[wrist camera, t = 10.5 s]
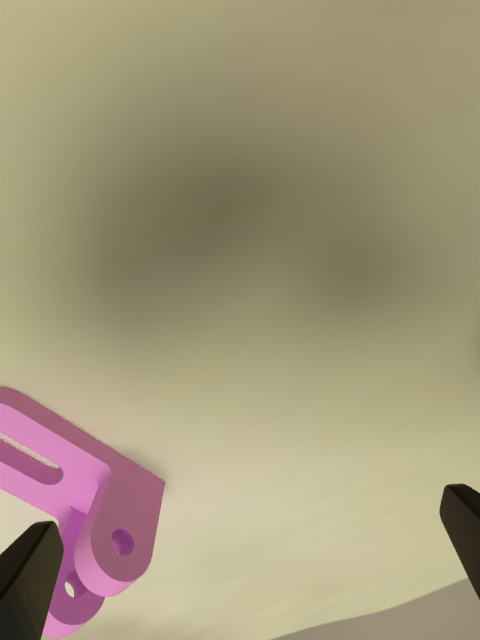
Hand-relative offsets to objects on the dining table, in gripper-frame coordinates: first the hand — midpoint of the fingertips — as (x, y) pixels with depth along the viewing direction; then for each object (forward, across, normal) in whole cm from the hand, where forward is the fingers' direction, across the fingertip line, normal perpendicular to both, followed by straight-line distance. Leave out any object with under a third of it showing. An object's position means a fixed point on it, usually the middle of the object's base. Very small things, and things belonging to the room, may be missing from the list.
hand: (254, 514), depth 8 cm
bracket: (+12, +12, +8) cm, 19 cm away
